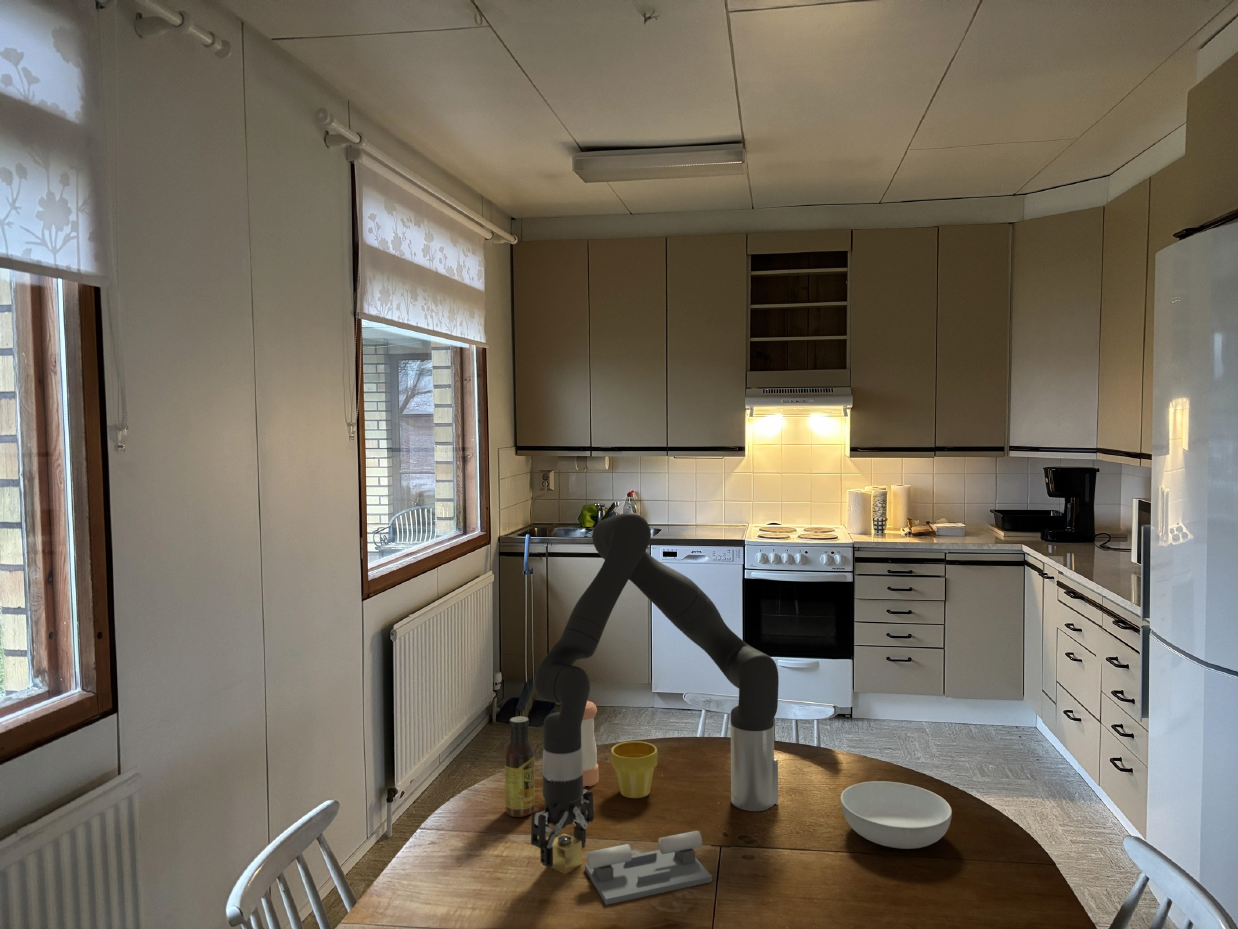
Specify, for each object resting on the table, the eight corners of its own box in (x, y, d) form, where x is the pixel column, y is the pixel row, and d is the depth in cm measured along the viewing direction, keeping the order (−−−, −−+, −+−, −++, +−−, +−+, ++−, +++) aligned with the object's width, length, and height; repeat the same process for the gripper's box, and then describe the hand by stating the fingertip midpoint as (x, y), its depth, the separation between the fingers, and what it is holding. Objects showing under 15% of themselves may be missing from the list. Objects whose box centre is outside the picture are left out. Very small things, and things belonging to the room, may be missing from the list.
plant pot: (612, 782, 188) (611, 740, 188) (657, 782, 188) (657, 740, 187) (610, 802, 178) (610, 758, 177) (658, 802, 178) (657, 758, 177)
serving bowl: (968, 834, 162) (968, 799, 162) (925, 876, 147) (925, 839, 147) (869, 802, 177) (869, 771, 176) (820, 838, 161) (820, 804, 161)
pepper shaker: (598, 787, 186) (596, 703, 185) (565, 787, 186) (564, 704, 185) (599, 773, 193) (598, 693, 192) (568, 774, 193) (567, 693, 192)
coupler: (564, 856, 156) (564, 830, 155) (582, 864, 153) (581, 837, 153) (547, 866, 152) (547, 839, 152) (565, 874, 149) (564, 847, 149)
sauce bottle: (529, 820, 170) (528, 726, 169) (501, 817, 172) (499, 724, 171) (539, 806, 177) (537, 715, 176) (511, 803, 178) (509, 713, 177)
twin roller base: (688, 849, 158) (687, 819, 157) (715, 880, 146) (715, 849, 146) (581, 870, 150) (580, 839, 150) (601, 905, 139) (601, 872, 139)
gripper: (574, 754, 160) (575, 835, 160) (520, 778, 149) (521, 865, 150) (603, 764, 155) (604, 848, 155) (549, 789, 144) (550, 879, 145)
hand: (563, 856), depth 153 cm, fingers open, 8 cm apart
